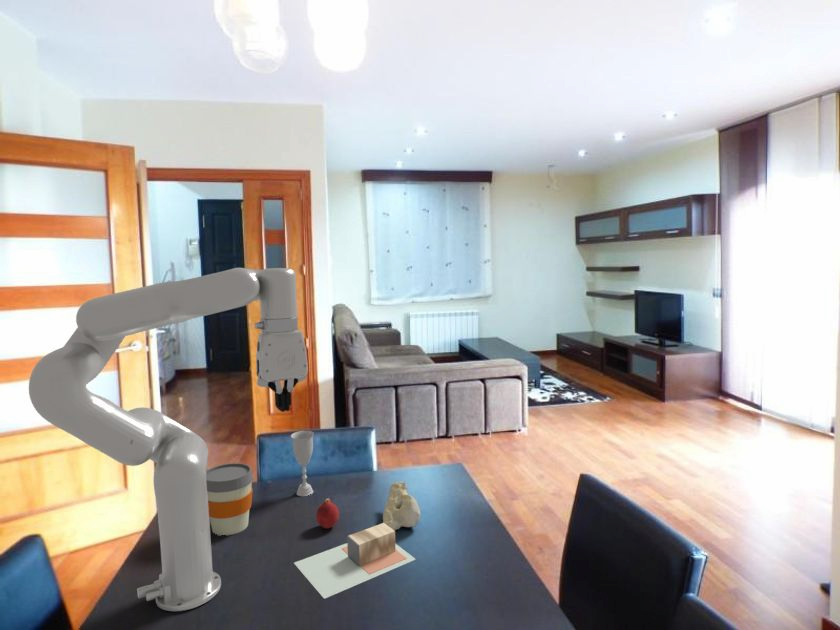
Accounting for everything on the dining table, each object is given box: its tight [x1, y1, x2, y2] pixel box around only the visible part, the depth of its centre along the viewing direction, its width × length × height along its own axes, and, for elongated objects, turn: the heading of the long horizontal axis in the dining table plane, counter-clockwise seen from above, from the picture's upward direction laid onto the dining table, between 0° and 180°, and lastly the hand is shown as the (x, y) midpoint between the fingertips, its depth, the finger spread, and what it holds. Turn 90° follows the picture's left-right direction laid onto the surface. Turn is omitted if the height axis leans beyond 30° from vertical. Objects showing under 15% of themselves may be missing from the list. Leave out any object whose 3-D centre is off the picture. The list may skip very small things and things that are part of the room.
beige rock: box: [382, 480, 421, 532], centre depth 136 cm, size 15×7×15 cm
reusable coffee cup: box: [206, 462, 254, 536], centre depth 135 cm, size 13×13×15 cm
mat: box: [293, 542, 417, 599], centre depth 118 cm, size 23×16×1 cm
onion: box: [315, 498, 340, 529], centre depth 133 cm, size 6×6×8 cm
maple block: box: [346, 522, 396, 566], centre depth 120 cm, size 5×5×10 cm
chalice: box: [290, 430, 315, 497], centre depth 154 cm, size 7×7×18 cm
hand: (283, 409), depth 111 cm, fingers closed
